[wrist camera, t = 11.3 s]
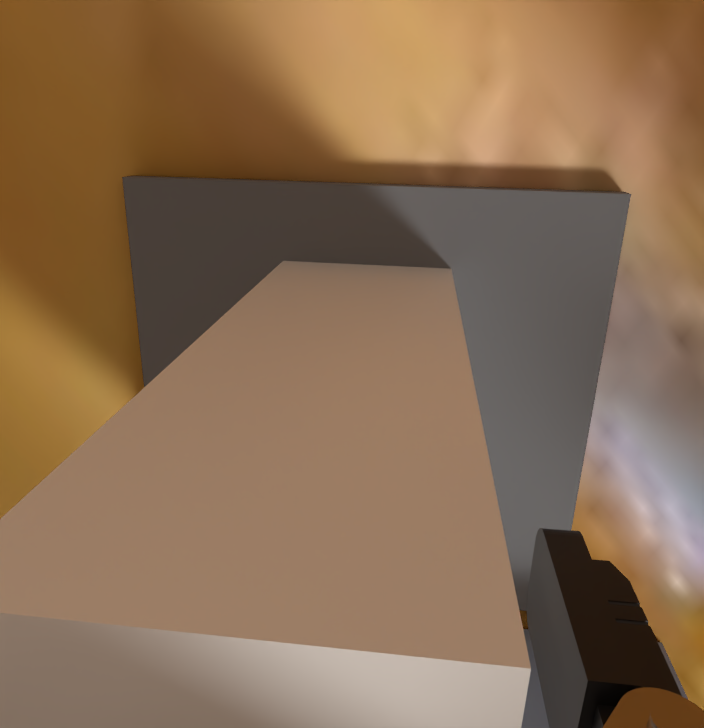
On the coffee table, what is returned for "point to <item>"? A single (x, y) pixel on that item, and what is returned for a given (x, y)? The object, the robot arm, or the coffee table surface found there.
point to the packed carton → (276, 531)
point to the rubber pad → (414, 249)
